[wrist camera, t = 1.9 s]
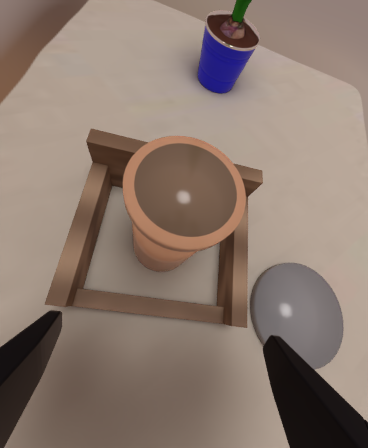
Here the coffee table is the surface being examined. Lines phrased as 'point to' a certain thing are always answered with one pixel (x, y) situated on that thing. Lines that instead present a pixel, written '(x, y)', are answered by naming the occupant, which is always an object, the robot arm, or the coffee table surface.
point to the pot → (180, 200)
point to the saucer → (298, 312)
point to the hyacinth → (226, 47)
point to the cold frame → (88, 232)
